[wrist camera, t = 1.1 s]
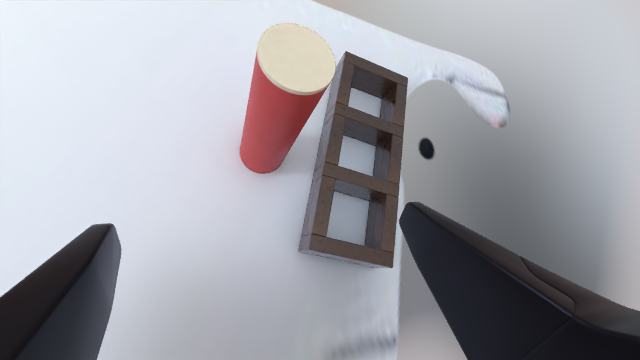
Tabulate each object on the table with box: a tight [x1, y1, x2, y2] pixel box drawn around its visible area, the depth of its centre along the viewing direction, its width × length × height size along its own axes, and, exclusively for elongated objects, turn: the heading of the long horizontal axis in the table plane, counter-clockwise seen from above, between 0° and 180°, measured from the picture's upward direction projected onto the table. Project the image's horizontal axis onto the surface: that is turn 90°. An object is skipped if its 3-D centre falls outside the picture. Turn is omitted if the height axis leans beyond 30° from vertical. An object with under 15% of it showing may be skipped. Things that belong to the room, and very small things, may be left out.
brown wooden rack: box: [299, 51, 408, 268], centre depth 26 cm, size 19×7×3 cm, turn 168°
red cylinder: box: [240, 23, 336, 173], centre depth 19 cm, size 4×4×12 cm
